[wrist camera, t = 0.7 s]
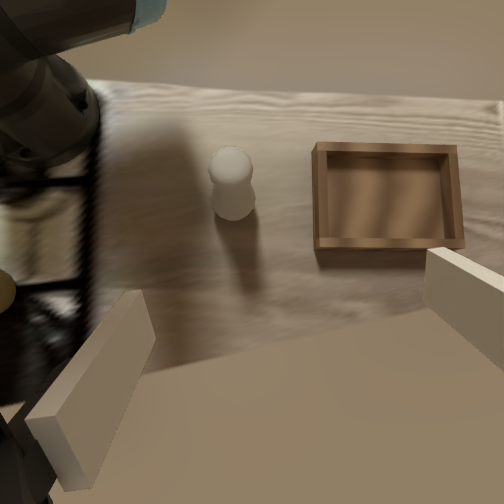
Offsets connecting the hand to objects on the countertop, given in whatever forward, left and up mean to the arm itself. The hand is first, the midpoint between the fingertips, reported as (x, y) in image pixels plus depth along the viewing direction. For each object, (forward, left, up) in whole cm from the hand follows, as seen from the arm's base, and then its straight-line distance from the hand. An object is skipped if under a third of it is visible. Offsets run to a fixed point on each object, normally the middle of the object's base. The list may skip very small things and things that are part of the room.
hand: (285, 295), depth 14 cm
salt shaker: (-10, +6, -26) cm, 28 cm away
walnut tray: (+4, +21, -25) cm, 33 cm away
